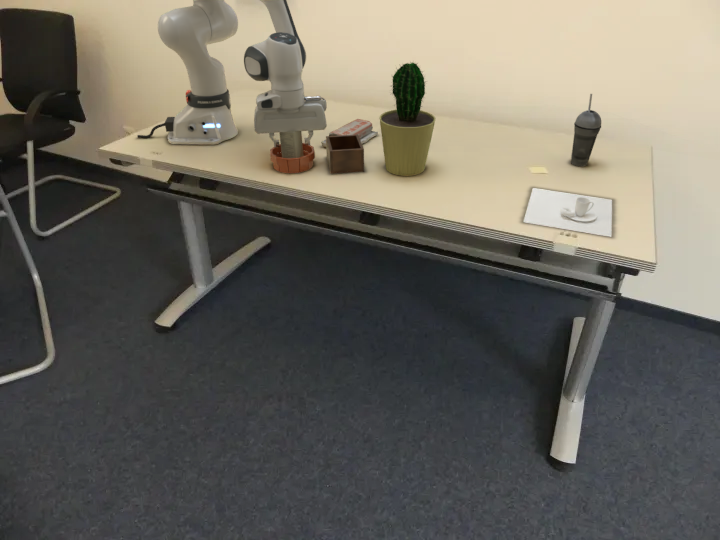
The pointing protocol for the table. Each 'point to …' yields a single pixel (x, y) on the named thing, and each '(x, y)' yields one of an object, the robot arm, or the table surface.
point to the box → (291, 144)
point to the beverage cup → (585, 135)
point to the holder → (345, 154)
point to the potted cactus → (407, 124)
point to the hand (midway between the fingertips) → (292, 145)
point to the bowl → (292, 160)
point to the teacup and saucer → (570, 212)
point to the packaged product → (355, 130)
